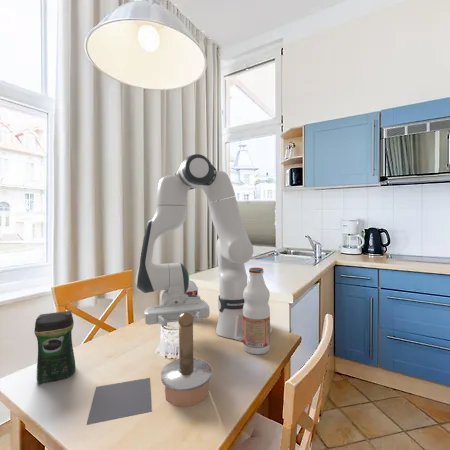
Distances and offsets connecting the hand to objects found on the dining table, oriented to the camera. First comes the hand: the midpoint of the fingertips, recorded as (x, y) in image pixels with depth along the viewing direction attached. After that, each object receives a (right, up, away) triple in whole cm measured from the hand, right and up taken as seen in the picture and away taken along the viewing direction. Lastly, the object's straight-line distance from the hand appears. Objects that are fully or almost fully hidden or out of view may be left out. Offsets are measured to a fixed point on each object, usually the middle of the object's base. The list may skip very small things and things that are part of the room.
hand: (180, 321), depth 82 cm
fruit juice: (+24, -15, +15) cm, 32 cm away
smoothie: (-3, -13, +42) cm, 44 cm away
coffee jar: (-36, -16, -1) cm, 39 cm away
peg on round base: (+3, -10, -10) cm, 15 cm away
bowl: (+3, -15, -9) cm, 18 cm away
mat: (-13, -16, -12) cm, 24 cm away
